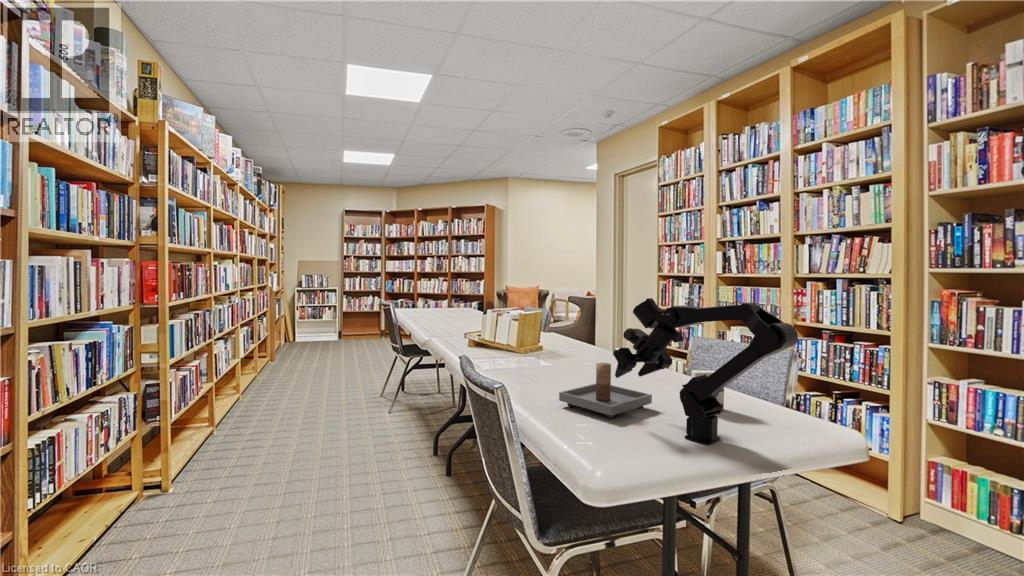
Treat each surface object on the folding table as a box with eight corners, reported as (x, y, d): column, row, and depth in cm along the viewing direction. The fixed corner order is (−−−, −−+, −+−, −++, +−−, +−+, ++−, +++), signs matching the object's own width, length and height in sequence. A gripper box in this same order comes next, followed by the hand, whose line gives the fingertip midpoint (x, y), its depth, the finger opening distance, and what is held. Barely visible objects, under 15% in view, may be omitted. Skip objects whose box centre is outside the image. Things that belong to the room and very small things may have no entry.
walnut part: (612, 401, 146) (613, 365, 146) (598, 402, 145) (599, 365, 145) (607, 397, 150) (608, 362, 150) (593, 398, 150) (594, 363, 149)
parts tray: (651, 408, 148) (651, 394, 148) (611, 422, 135) (611, 406, 134) (599, 395, 163) (599, 382, 163) (559, 406, 150) (559, 392, 149)
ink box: (718, 407, 150) (719, 370, 150) (723, 412, 145) (725, 373, 145) (689, 406, 151) (690, 369, 150) (694, 411, 146) (695, 372, 146)
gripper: (665, 320, 142) (636, 354, 151) (618, 318, 132) (590, 355, 141) (686, 349, 135) (655, 383, 144) (639, 349, 125) (608, 386, 134)
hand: (627, 375), depth 141 cm, fingers open, 9 cm apart
